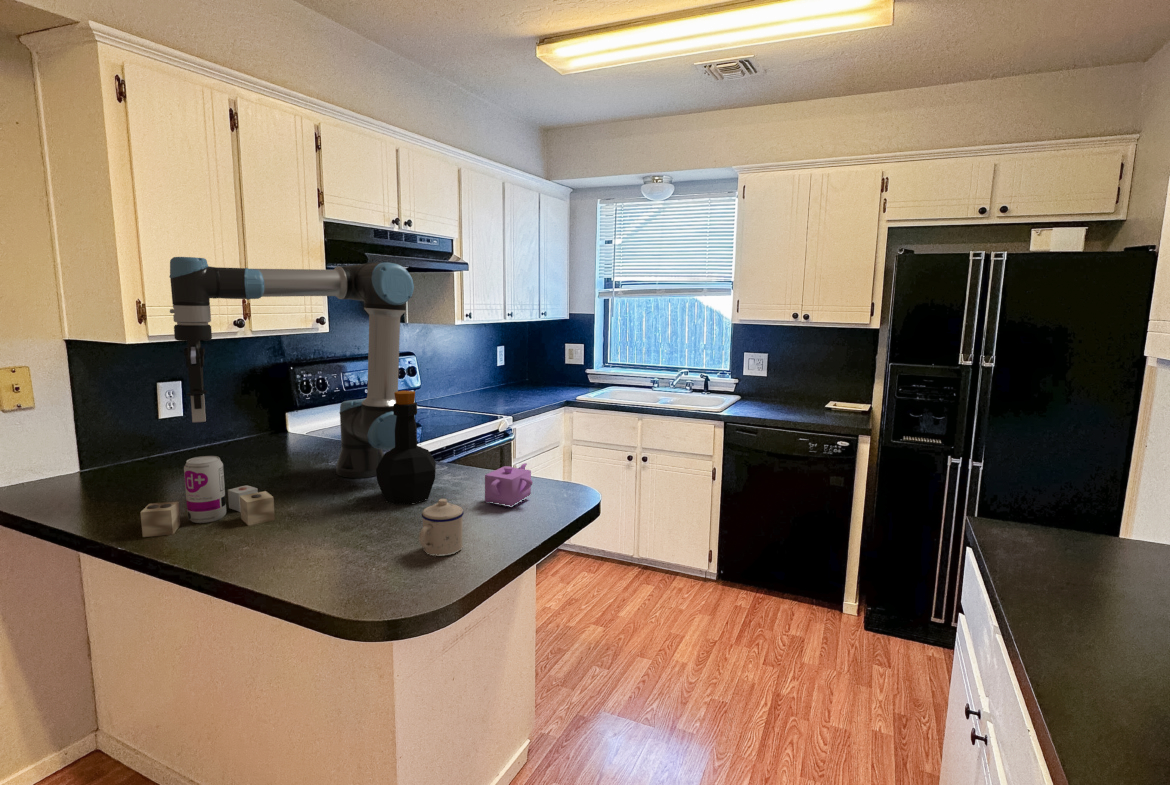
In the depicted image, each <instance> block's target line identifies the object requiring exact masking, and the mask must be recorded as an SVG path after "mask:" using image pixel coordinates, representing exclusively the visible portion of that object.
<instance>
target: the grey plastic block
mask: <svg viewBox="0 0 1170 785" xmlns="http://www.w3.org/2000/svg"><path fill="white" fill-rule="evenodd" d="M258 492H259V490H258V488H257V487H254V486H250V485H247V484H246V485H242V486H238V487H234V488H230V489H227V497H228V509H230V510H231V509H232V510H234V511H237V512H239V513H241V510H240V496H242V495H248V494H253V493H258Z"/></svg>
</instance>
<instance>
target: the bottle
mask: <svg viewBox="0 0 1170 785" xmlns="http://www.w3.org/2000/svg"><path fill="white" fill-rule="evenodd" d="M394 394H395V400H396V403H394V405H393V411H394V415H396V416H397V417H396V424H395V447H394V448H393V449H390V450H387V451H386V452H384V453H383V454H384V455H383V457H382V459H381V461H380V463H379V465H378V467H377V469H376V481H377V483H378V486H379V489H380V491H381V494H382V497H383V499H384V502H386V501H387V502H386V503H389V502H390V504H392V505H413V504H412V503H416V502H419V501H422V500H425V499H428V500H429V498H430V496H431V492H432V489H433V487H434V486H433V485H434V482H435V480H436V472H437V471H436V470H437V469H436V467H437V465H436V464H437V463H436V460H435V459H434V457H433V455H432V454H431V452H430V451H429V449H428V448H427V449H426V448H424V447H422V446H419V445H418V429H417V421H416V416H417V414H418V403H417V402H415V399H416V391H415V390H398V392H395V393H394ZM425 501H426V500H425ZM422 502H423V501H422ZM419 503H420V502H419ZM416 504H417V503H416Z"/></svg>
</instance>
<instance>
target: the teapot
mask: <svg viewBox="0 0 1170 785" xmlns="http://www.w3.org/2000/svg"><path fill="white" fill-rule="evenodd" d="M527 465H528V463H522V464H521V465H520V467H519V468H518V467H513V466H509V465H508V466H506V465H504V466H502V467H500V468H498V469H495V470H491V471H490V472H488V473H486V474H484V502H485V501H486V502H493V503H499V504H505V505H510V506H512V505H514V504H515V503H517V502H519V501H520V500H522V499H524V498H525V497H527V496H529V495H530V494H531V495H532V493H531V491H532V490H531V489H532V486H533V480H532V471H531V470H530V469H526V466H527Z"/></svg>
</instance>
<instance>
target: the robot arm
mask: <svg viewBox="0 0 1170 785" xmlns="http://www.w3.org/2000/svg"><path fill="white" fill-rule="evenodd" d="M169 278H170V289H171V290H170V291H171V301H172V302H171V303H172V308H171V309H169V313H170V314H173V322H174V323H176V324H174V325H173V334H174V340H175V341H177V342H187V347H184V348H183V354H184V357H185V363H186V367H187V370H188V371H187V372H188V382H189V392H187V393H186V396H187V397H189V396H190V404H191V405H190V406H191V420H192V423H203V422H206V421H207V419H206V416H207V415H206V404H205V403H206V402H205V401H206V400H205V394H208V390H205V386H204V370H203V367H204V365H205V359H204V358H205V356H204V355H205V347H201V342H206V341H207V342H208V341H211V340H212V338H213V334H212V325H210V324H209V323H211V322H212V313H211V304H210V303H211V302H210V299H214V300H215V299H224V300H225V299H226V300H227V299H228V300H237V299H238V300H247V301H248V300H258V299H261V298H264V297H265V298H268V297H269V298H270V297H276V298H277V297H278V298H279V297H280V298H281V297H336V298H337V299H338V300H352V301H359V302H363V309H364V310H365V311H366V313H367V314H368V348H367V349H368V352H367V353H368V356H367V359H368V360H367V396H366V398H361V399H359V398H358V399H349V400H344V401H342V402H341V403H340V406H339V419H340V420H339V421H340V438H341V439H340V442H341V443H340V444H341V450H340V452H339V455H338V456H339V457H338V459H337V463H336V466H335V467H336V470H335V471H336V474H337V475H338V476H339V477H342V478H349V479H352V478H353V479H361V478H370V477H371V478H372V477H377V475H376V469H377V467H378V465H379V463H380V461H381V459H382V457H383V455H384V454H385V453H384V450H385V451H390V450H391V449H393V448H394V447H395V424H396V417H397V416H396V415H394V411H393V405H394V403H396V400H395V394H394V393H395V392H398V391H399V365H400V364H399V363H400V335H401V334H400V333H401V332H400V330H401V328H400V327H401V317H402V316H403V314H405V313H406V312H407V303H408V301H409V300H410V299H411V298H412V296H413V293H414V289H415V286H414V280H413V278H412V275H411V274H410V272H409V271H408V269H406V268H405V267H403V265H400V264H398V263H393V262H389V261H388V262H376V263H375V262H372V263H371V262H367V263H363V264H355V265H344V266H343V265H342V266H339V265H338V266H335V267H334V269H313V268H312V269H311V268H310V269H309V268H307V269H306V268H305V269H303V268H301V269H300V268H299V269H298V268H248V267H220V266H219V267H215V266H210V265H209V264H208V260H207V259H206V258H205V257H192V256H174V257H172V258H171V259H170V261H169Z"/></svg>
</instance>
